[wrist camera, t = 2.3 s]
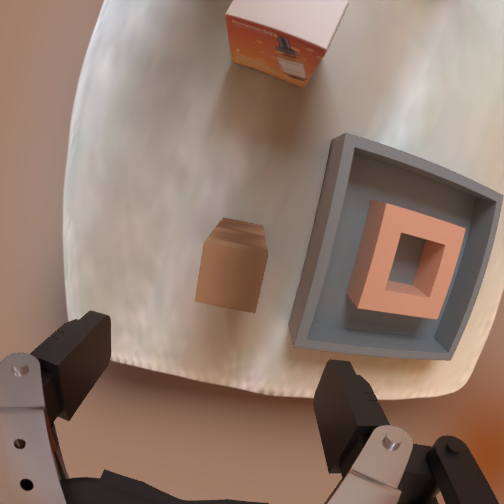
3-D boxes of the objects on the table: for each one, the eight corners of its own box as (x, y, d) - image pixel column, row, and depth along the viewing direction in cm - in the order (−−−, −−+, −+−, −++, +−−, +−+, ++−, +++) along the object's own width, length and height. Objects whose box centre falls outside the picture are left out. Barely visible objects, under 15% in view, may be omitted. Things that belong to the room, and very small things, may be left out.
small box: (230, 62, 27) (220, 13, 17) (252, 22, 26) (251, -34, 15) (304, 90, 28) (328, 51, 17) (323, 48, 26) (350, 1, 16)
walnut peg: (216, 256, 32) (195, 301, 20) (223, 217, 31) (204, 242, 19) (254, 263, 32) (255, 313, 20) (262, 225, 31) (267, 254, 19)
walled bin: (288, 323, 33) (293, 346, 28) (331, 139, 29) (345, 132, 24) (432, 341, 34) (450, 360, 29) (477, 191, 29) (503, 195, 25)
